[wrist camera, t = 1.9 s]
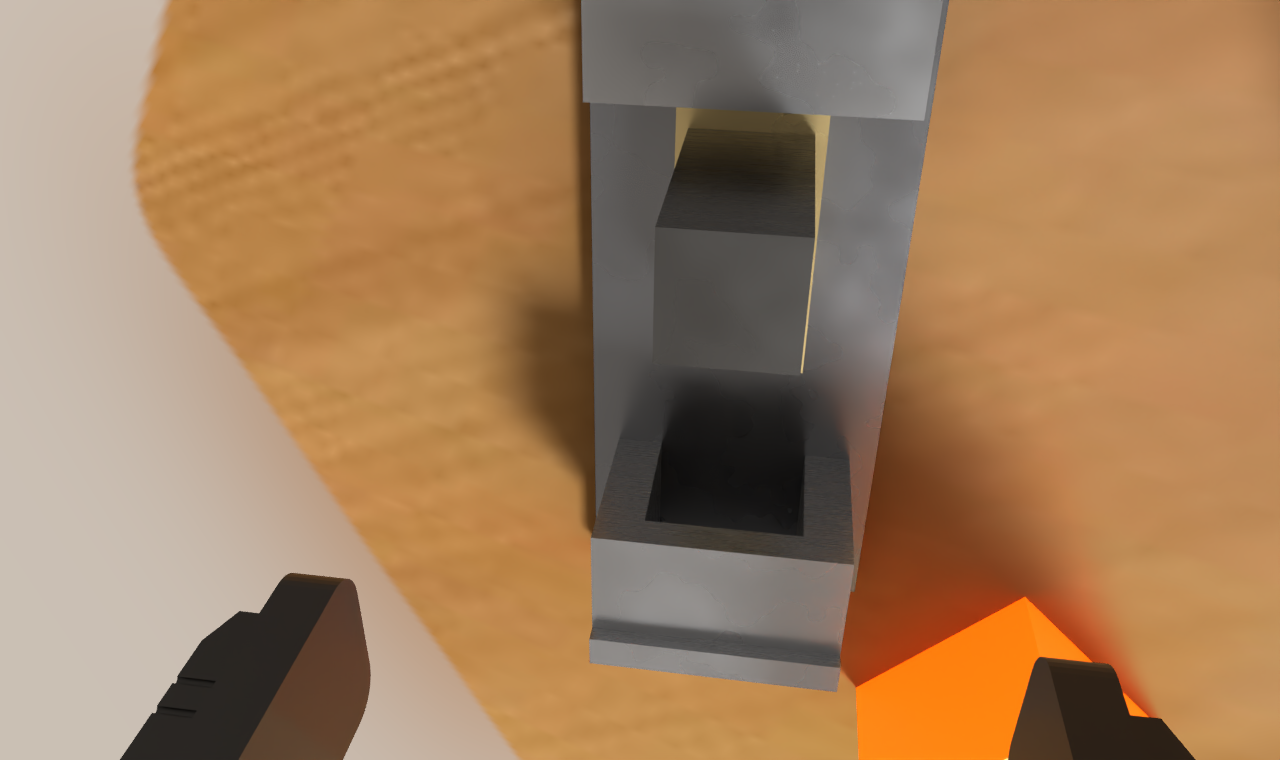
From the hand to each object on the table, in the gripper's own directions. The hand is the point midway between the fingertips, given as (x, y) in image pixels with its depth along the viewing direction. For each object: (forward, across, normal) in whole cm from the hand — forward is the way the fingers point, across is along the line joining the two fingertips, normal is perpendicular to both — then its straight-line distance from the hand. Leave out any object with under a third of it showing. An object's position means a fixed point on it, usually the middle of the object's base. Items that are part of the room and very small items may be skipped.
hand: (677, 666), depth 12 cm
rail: (+20, 0, +3) cm, 20 cm away
